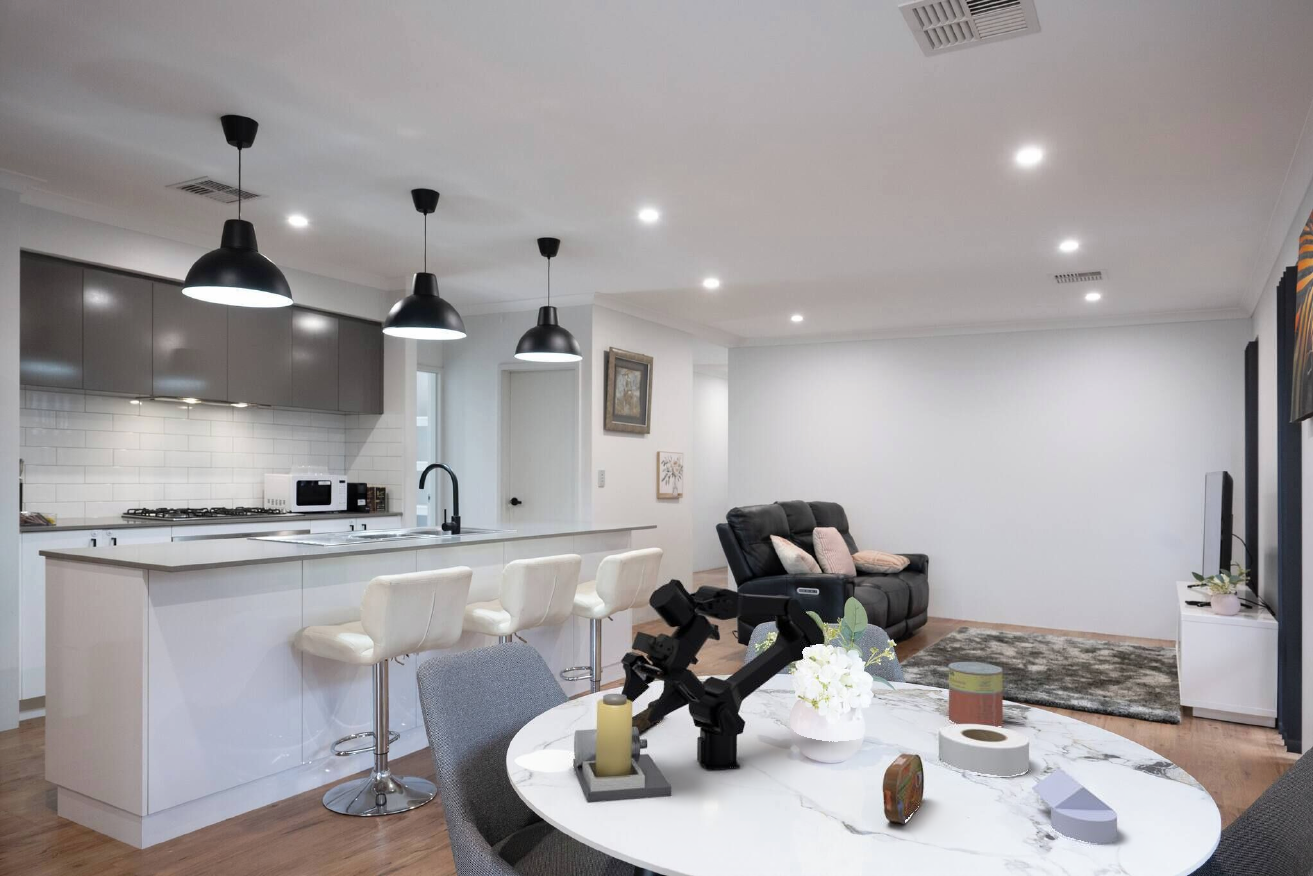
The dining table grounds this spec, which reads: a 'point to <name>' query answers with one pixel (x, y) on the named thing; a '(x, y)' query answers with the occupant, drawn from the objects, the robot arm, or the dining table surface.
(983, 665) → the canned food
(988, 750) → the roll of tape
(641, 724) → the hand tool
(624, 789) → the motor mount
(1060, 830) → the wedge on round base
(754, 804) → the dining table surface
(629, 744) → the bottle
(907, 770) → the tin
